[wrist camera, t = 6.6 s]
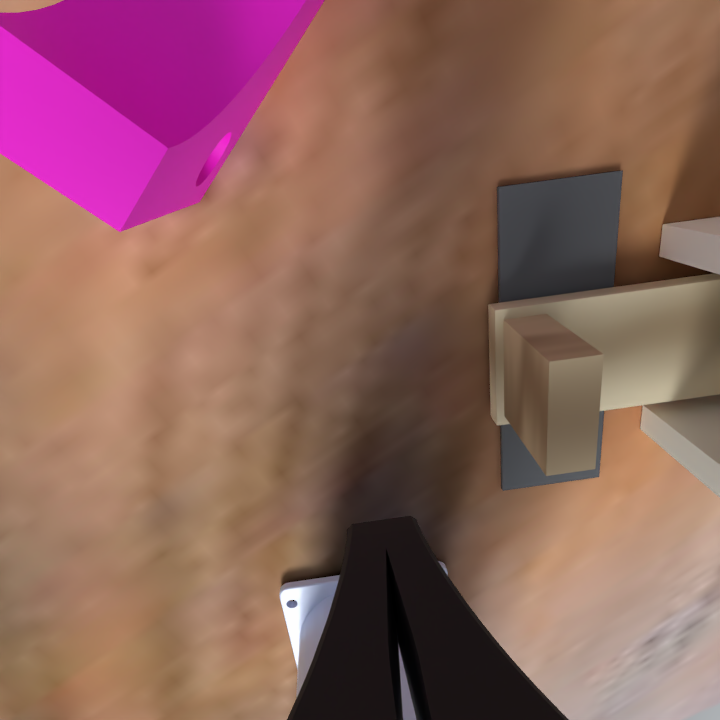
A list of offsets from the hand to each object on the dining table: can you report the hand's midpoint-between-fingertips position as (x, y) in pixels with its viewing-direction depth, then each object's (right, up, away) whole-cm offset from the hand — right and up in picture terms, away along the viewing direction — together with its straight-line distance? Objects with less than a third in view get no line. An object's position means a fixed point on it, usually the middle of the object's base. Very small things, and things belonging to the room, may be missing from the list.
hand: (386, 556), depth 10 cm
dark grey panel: (+7, +5, +10) cm, 13 cm away
